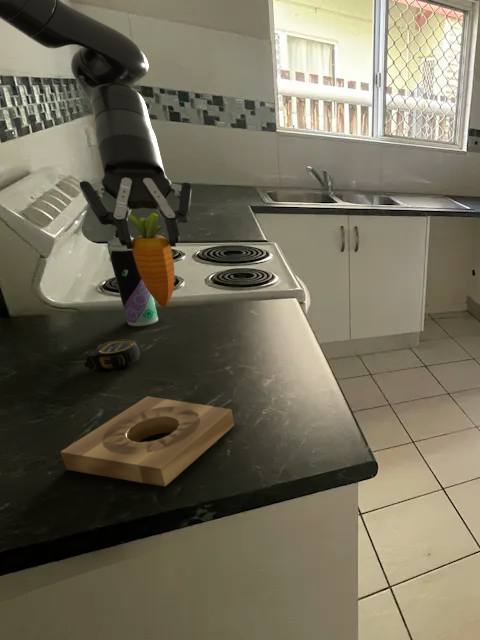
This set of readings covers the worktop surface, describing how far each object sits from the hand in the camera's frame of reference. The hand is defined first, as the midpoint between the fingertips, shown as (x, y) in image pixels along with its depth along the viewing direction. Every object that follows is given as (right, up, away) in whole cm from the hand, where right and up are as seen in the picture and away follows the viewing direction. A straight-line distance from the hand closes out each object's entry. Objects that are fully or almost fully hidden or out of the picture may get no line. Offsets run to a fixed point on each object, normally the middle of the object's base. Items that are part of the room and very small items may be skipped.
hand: (151, 244), depth 70 cm
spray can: (-27, -10, +33) cm, 44 cm away
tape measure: (-19, -19, +16) cm, 32 cm away
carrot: (-2, -9, +6) cm, 11 cm away
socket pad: (+2, -30, -2) cm, 30 cm away
